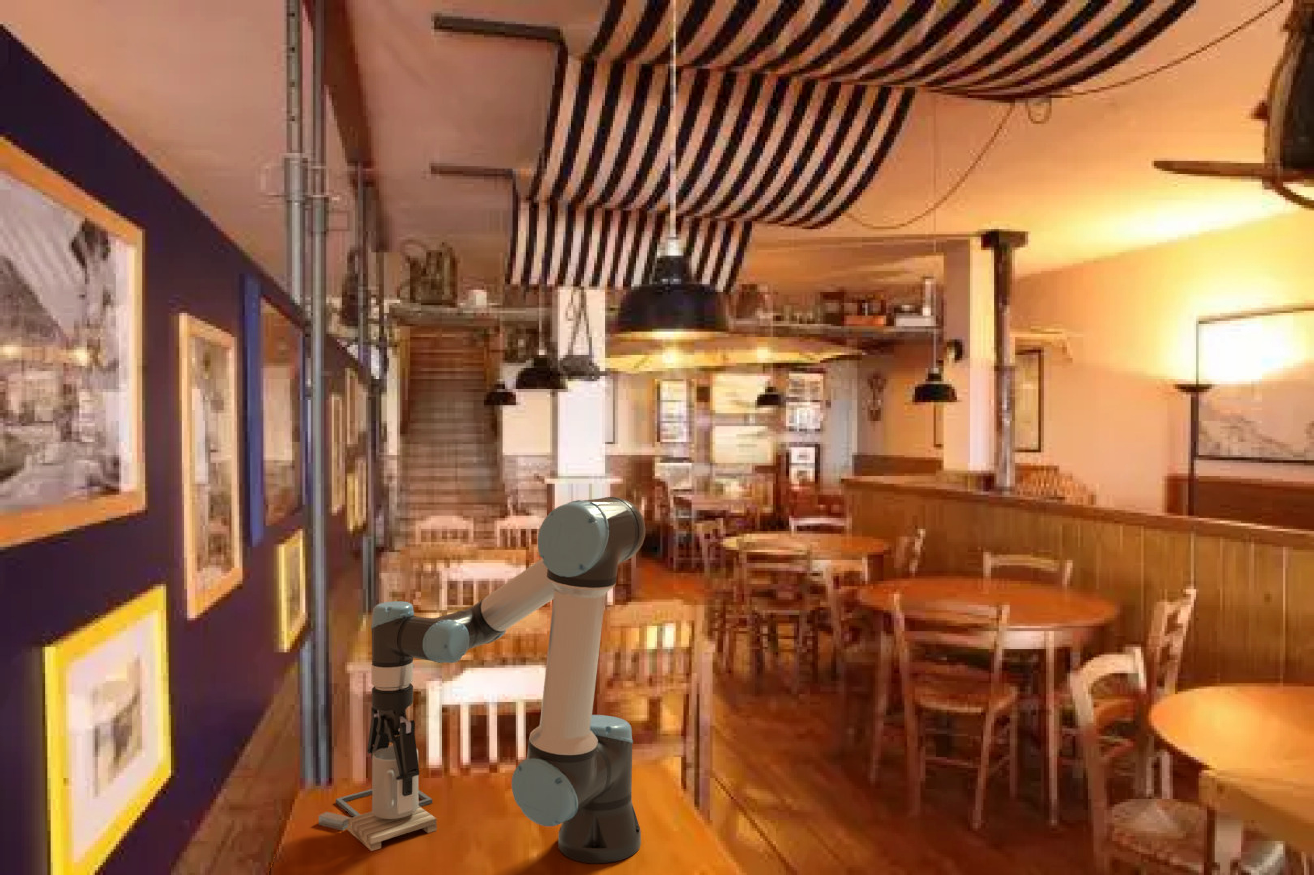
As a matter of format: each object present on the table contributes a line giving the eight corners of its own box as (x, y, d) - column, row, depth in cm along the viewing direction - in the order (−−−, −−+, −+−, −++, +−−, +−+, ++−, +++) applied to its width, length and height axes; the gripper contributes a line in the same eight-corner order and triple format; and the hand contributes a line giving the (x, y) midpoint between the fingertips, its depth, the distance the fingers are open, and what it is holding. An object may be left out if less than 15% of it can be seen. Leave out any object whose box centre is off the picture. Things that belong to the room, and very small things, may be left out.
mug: (377, 801, 173) (377, 745, 173) (421, 799, 174) (422, 743, 174) (363, 828, 161) (363, 768, 161) (411, 826, 162) (411, 766, 162)
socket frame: (432, 803, 180) (432, 799, 180) (361, 824, 170) (361, 820, 170) (404, 783, 190) (404, 780, 190) (335, 802, 180) (335, 798, 180)
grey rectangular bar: (350, 827, 169) (350, 817, 169) (342, 832, 167) (342, 821, 167) (326, 821, 172) (326, 811, 172) (318, 826, 170) (318, 815, 170)
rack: (436, 830, 168) (436, 818, 168) (371, 851, 159) (371, 838, 159) (410, 810, 176) (410, 799, 176) (347, 829, 168) (347, 818, 168)
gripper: (438, 694, 161) (438, 816, 162) (385, 669, 178) (385, 778, 179) (400, 703, 156) (399, 828, 157) (349, 675, 173) (349, 788, 174)
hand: (392, 802), depth 168 cm, fingers closed on mug, 10 cm apart
